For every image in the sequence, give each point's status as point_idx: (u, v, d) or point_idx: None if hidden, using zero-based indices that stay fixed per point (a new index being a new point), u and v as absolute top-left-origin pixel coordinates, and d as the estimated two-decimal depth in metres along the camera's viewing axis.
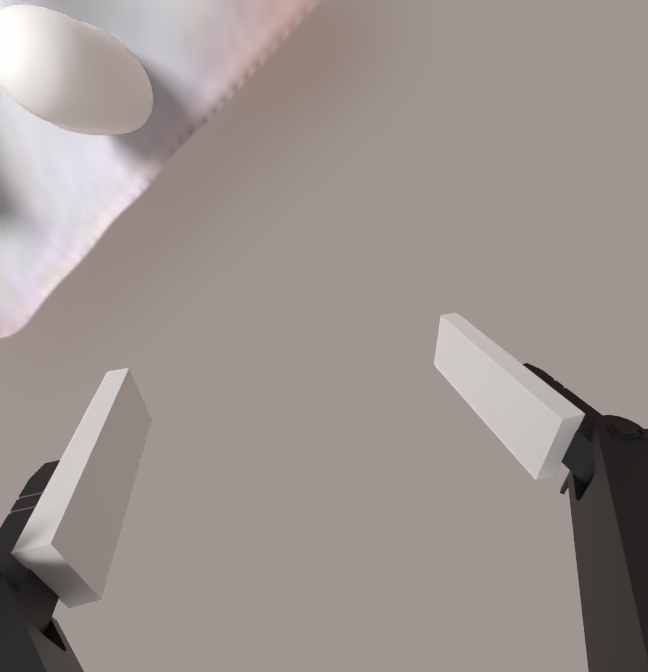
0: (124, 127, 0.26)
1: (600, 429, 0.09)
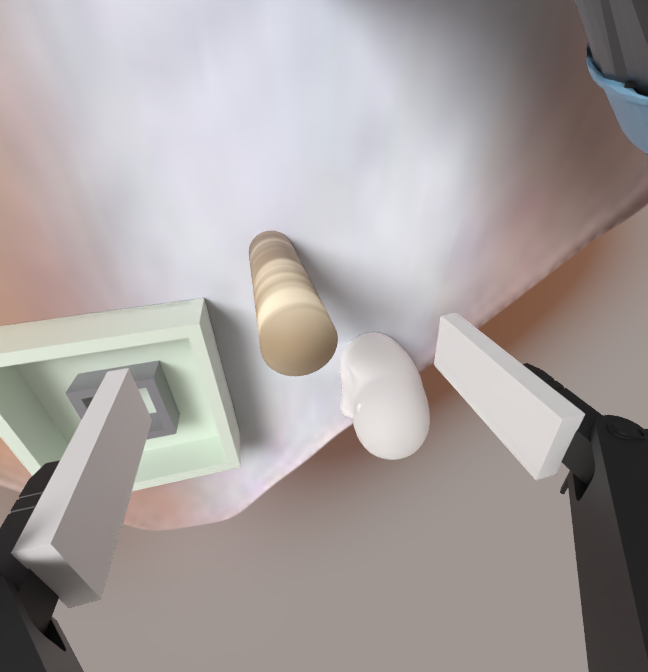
0: None
1: (600, 429, 0.09)
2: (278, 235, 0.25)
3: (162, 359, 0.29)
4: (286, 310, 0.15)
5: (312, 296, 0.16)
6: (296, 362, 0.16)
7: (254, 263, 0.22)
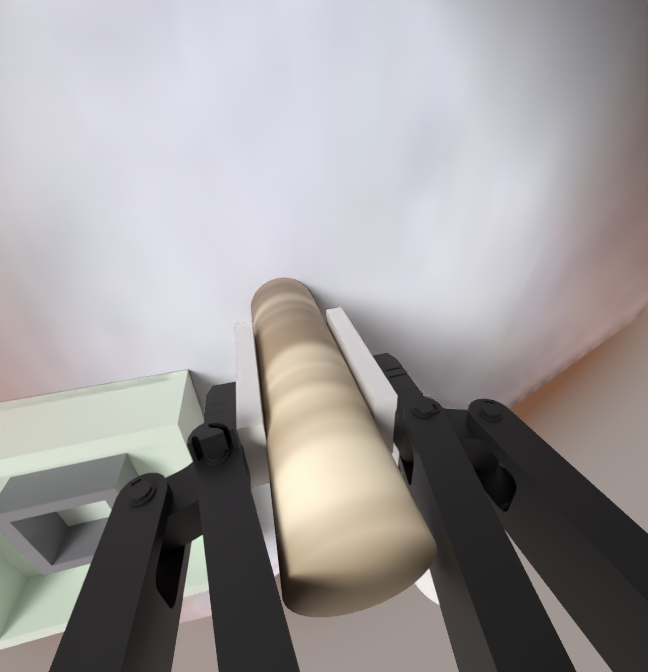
0: None
1: (408, 415, 0.10)
2: (294, 286, 0.17)
3: (131, 451, 0.21)
4: (339, 529, 0.07)
5: (378, 455, 0.08)
6: (352, 598, 0.08)
7: (260, 341, 0.14)
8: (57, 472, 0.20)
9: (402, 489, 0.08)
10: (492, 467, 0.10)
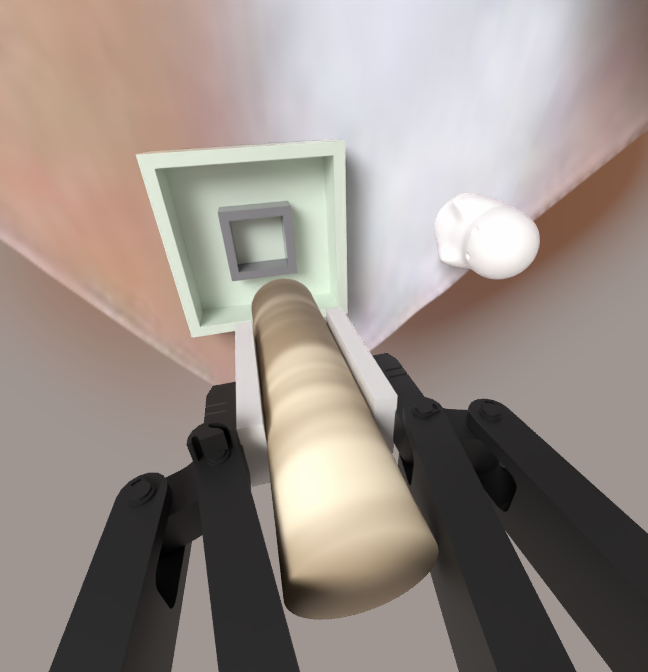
0: None
1: (408, 415, 0.10)
2: (294, 287, 0.17)
3: (289, 200, 0.32)
4: (340, 532, 0.07)
5: (380, 457, 0.08)
6: (353, 600, 0.08)
7: (261, 342, 0.14)
8: (247, 205, 0.31)
9: (404, 491, 0.08)
10: (492, 467, 0.10)
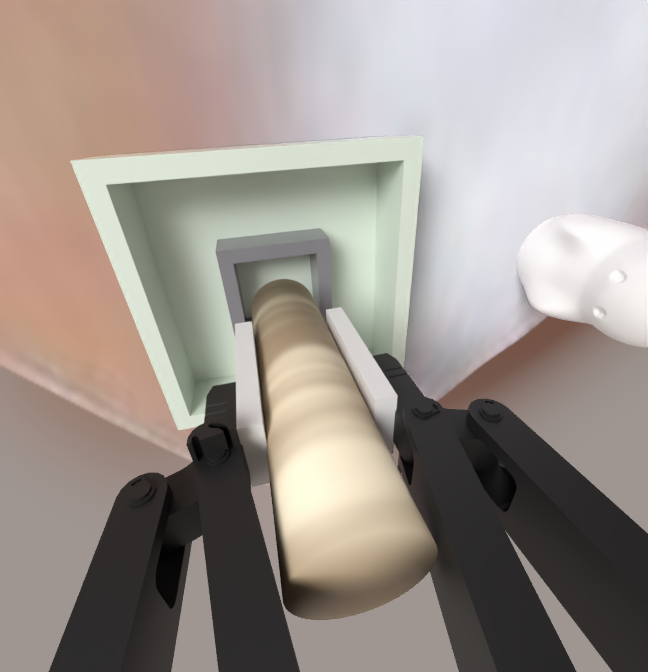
0: None
1: (408, 415, 0.10)
2: (294, 287, 0.17)
3: (323, 226, 0.21)
4: (340, 532, 0.07)
5: (379, 458, 0.08)
6: (353, 601, 0.08)
7: (261, 343, 0.14)
8: (261, 236, 0.20)
9: (403, 492, 0.08)
10: (492, 467, 0.10)
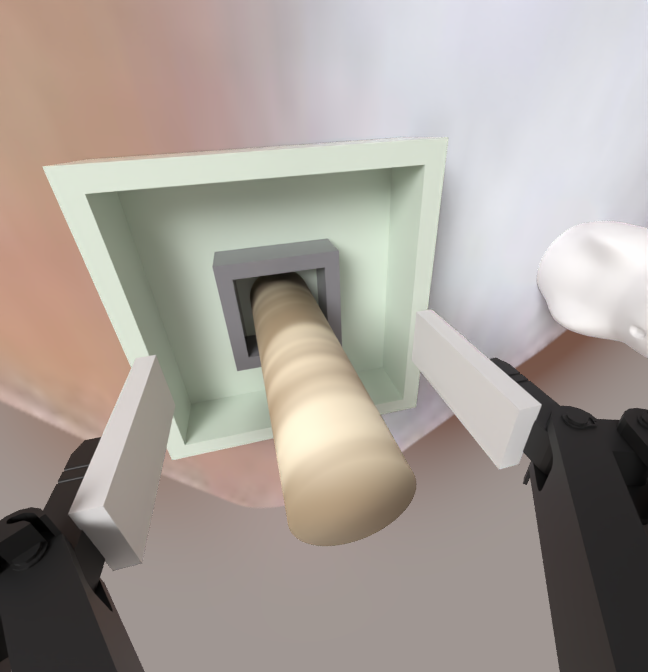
0: None
1: (555, 420, 0.09)
2: (290, 276, 0.19)
3: (332, 237, 0.20)
4: (334, 460, 0.08)
5: (367, 409, 0.10)
6: (346, 528, 0.09)
7: (261, 324, 0.16)
8: (263, 248, 0.19)
9: (387, 435, 0.09)
10: (638, 482, 0.10)
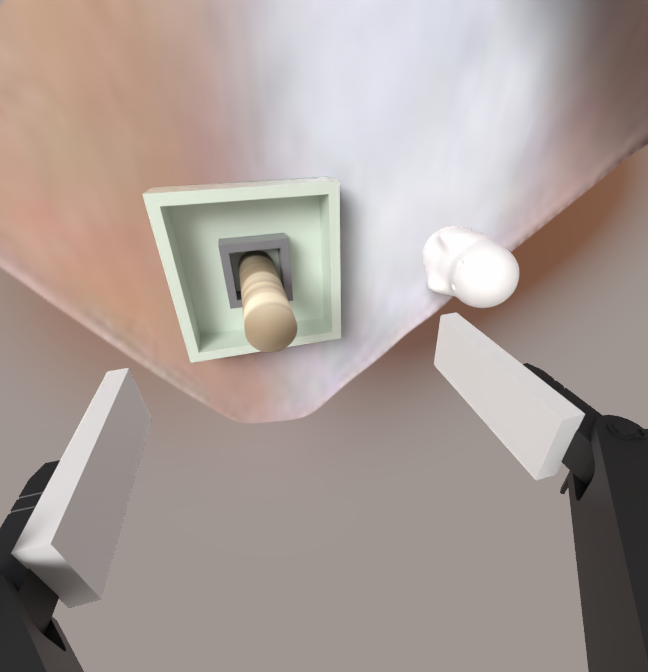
0: None
1: (600, 429, 0.09)
2: (261, 253, 0.33)
3: (286, 232, 0.34)
4: (261, 306, 0.22)
5: (281, 298, 0.24)
6: (269, 342, 0.23)
7: (242, 274, 0.30)
8: (246, 237, 0.33)
9: (286, 305, 0.24)
10: None
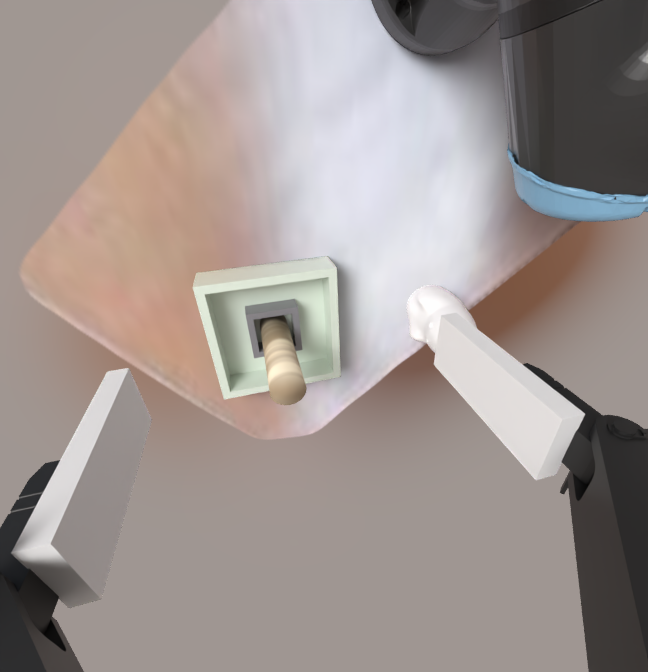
0: None
1: (600, 429, 0.09)
2: (277, 316, 0.43)
3: (296, 298, 0.43)
4: (281, 376, 0.32)
5: (294, 366, 0.34)
6: (286, 398, 0.33)
7: (264, 338, 0.40)
8: (266, 304, 0.42)
9: (298, 372, 0.33)
10: None
